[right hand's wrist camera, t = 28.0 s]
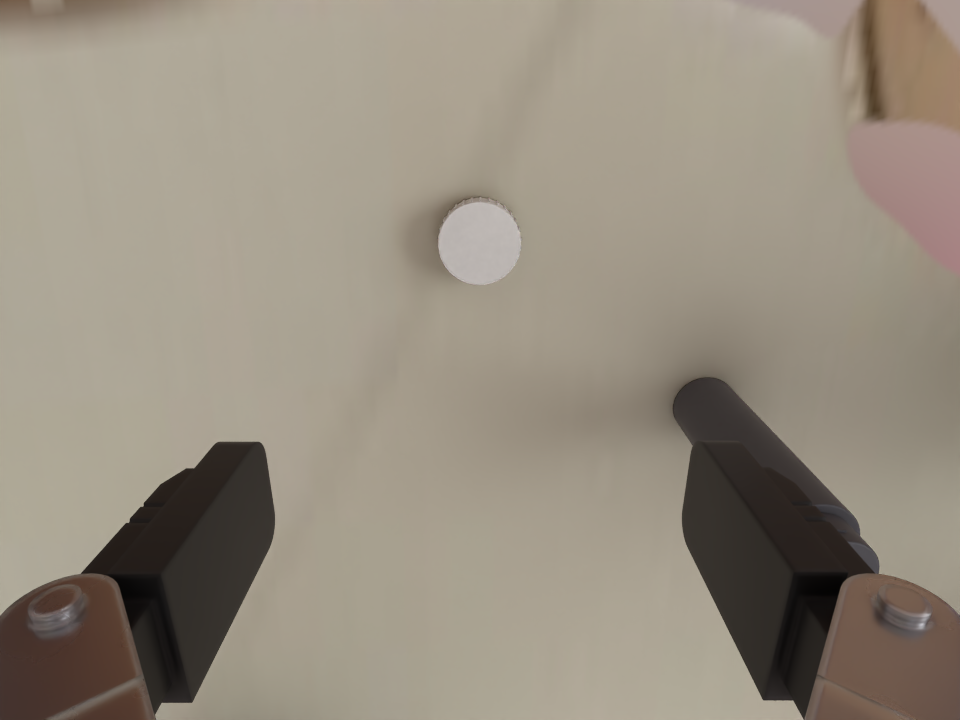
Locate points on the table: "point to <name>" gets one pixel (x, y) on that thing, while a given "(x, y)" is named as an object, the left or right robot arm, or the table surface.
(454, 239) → the lid
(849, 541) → the dark cylinder
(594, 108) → the table surface
